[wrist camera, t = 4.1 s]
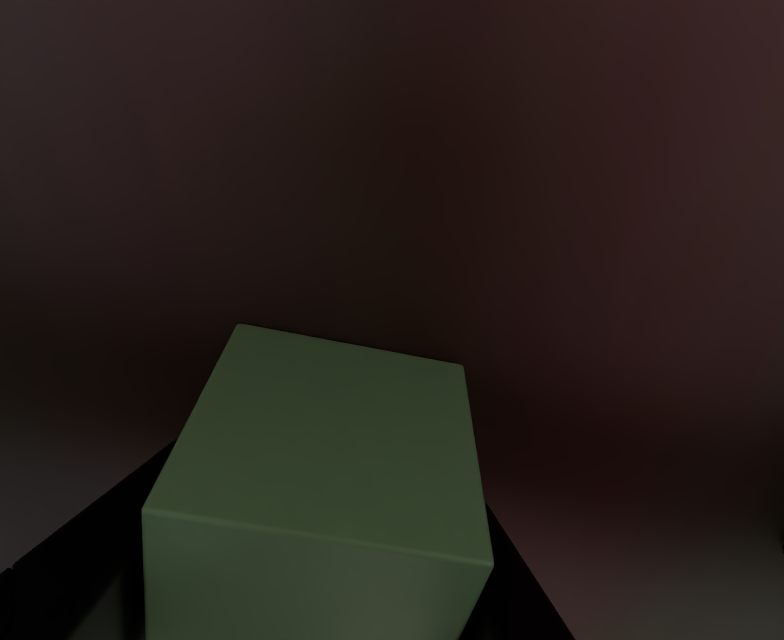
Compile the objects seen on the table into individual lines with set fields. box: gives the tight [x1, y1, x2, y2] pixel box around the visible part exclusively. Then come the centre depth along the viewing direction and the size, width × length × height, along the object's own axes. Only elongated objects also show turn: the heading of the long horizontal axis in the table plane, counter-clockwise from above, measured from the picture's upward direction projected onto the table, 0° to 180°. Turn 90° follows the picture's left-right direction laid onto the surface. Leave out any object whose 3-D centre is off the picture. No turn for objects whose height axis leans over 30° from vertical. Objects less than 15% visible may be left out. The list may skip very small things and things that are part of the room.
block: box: [142, 324, 494, 640], centre depth 9 cm, size 4×4×4 cm
